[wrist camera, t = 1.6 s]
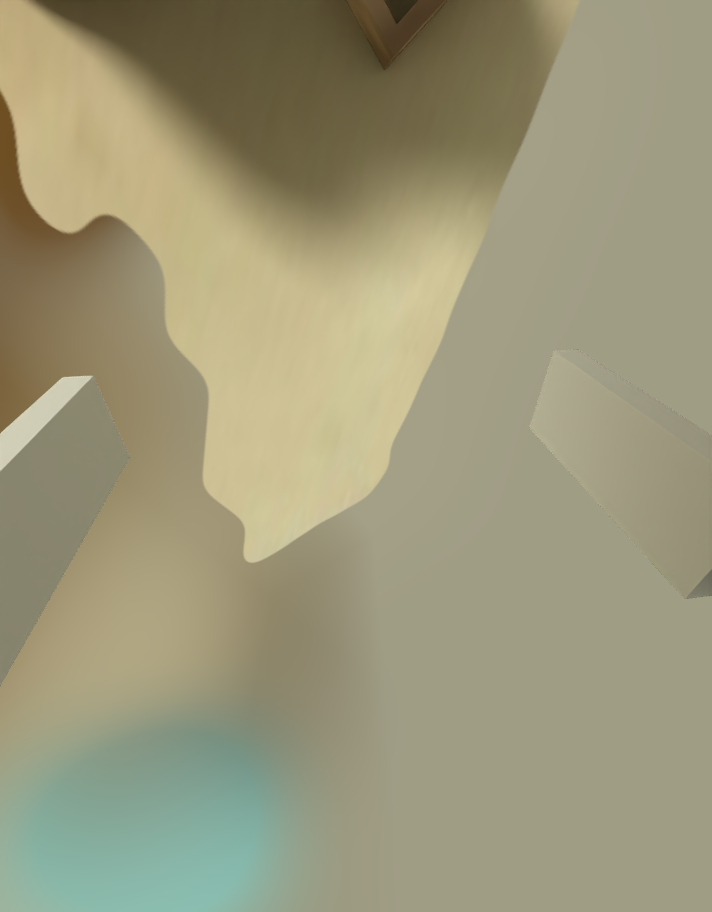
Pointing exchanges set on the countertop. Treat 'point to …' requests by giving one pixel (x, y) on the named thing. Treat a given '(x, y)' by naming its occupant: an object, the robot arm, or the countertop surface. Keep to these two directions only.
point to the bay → (391, 25)
